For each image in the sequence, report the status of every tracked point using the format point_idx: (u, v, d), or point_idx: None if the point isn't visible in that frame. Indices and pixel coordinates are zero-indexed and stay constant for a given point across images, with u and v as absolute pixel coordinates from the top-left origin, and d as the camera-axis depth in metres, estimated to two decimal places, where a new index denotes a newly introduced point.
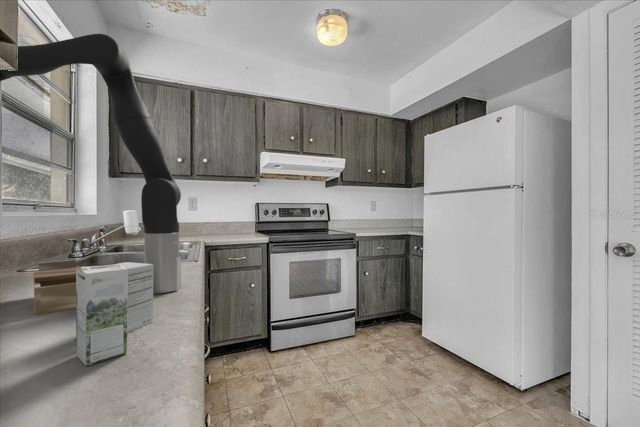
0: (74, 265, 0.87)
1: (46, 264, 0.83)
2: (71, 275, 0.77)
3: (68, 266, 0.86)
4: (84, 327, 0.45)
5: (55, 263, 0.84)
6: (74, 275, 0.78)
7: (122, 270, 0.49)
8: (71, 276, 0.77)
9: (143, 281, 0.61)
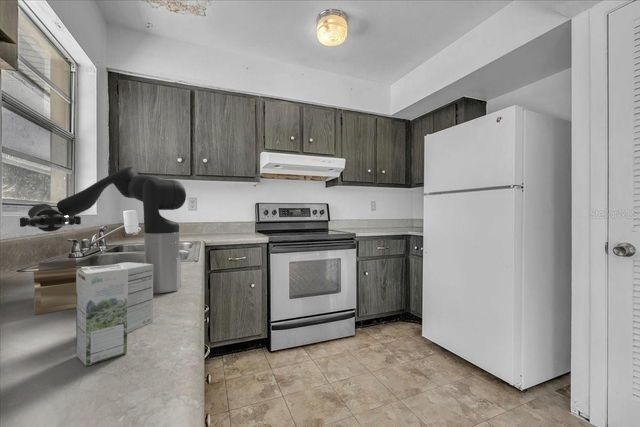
0: (74, 265, 0.87)
1: (46, 264, 0.83)
2: (71, 275, 0.77)
3: (68, 266, 0.86)
4: (84, 327, 0.45)
5: (55, 263, 0.84)
6: (74, 275, 0.78)
7: (122, 270, 0.49)
8: (71, 276, 0.77)
9: (143, 281, 0.61)
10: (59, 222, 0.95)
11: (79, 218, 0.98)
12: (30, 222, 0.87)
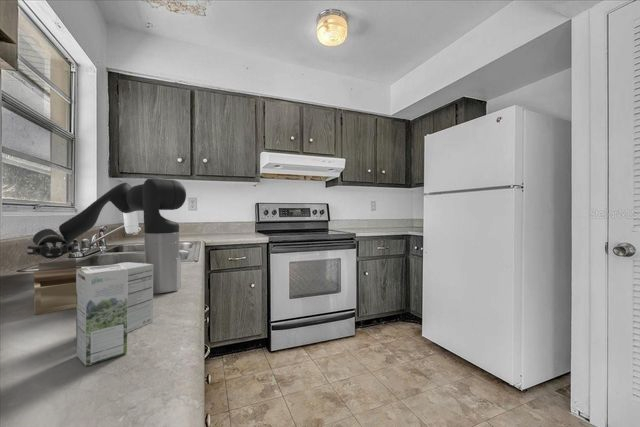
0: (74, 265, 0.87)
1: (46, 264, 0.83)
2: (71, 275, 0.77)
3: (68, 266, 0.86)
4: (84, 327, 0.45)
5: (55, 263, 0.84)
6: (74, 275, 0.78)
7: (122, 270, 0.49)
8: (71, 276, 0.77)
9: (143, 281, 0.61)
10: None
11: (66, 247, 0.95)
12: (50, 251, 0.90)
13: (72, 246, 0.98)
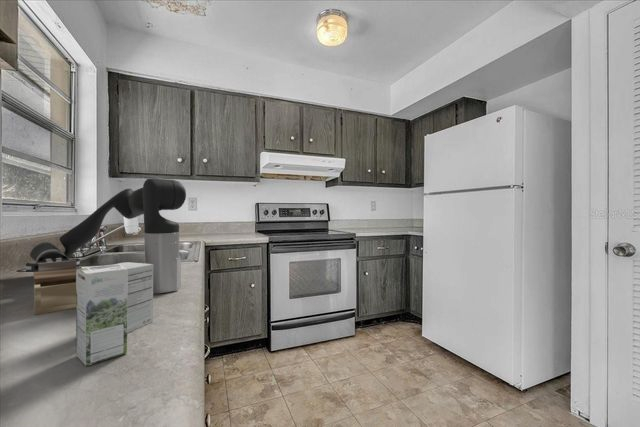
0: (74, 266, 0.86)
1: (46, 265, 0.82)
2: (71, 276, 0.76)
3: (68, 267, 0.85)
4: (84, 327, 0.45)
5: (55, 264, 0.83)
6: (75, 276, 0.77)
7: (122, 270, 0.49)
8: (71, 277, 0.76)
9: (143, 281, 0.61)
10: None
11: None
12: None
13: None
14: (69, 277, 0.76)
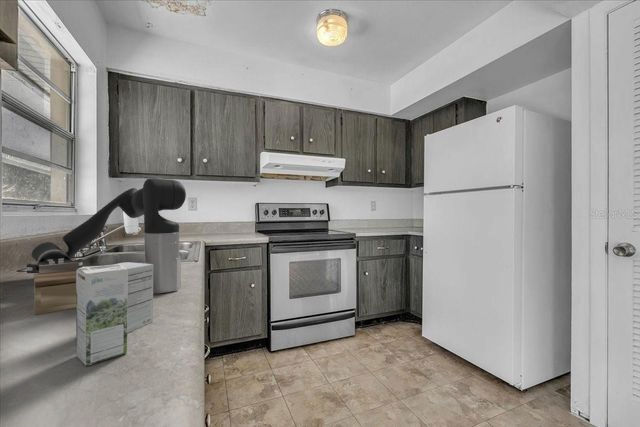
0: (76, 268, 0.83)
1: (47, 267, 0.79)
2: (74, 279, 0.73)
3: (70, 269, 0.82)
4: (84, 327, 0.45)
5: (56, 266, 0.80)
6: None
7: (122, 270, 0.49)
8: (74, 280, 0.73)
9: (143, 281, 0.61)
10: None
11: None
12: None
13: None
14: (71, 280, 0.73)
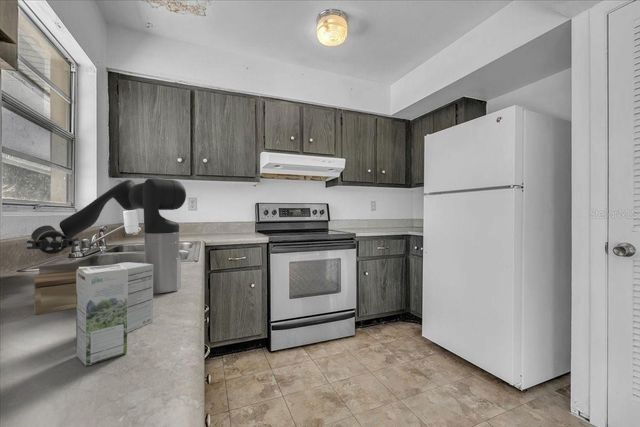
0: (77, 268, 0.82)
1: (47, 267, 0.78)
2: (74, 279, 0.73)
3: (70, 269, 0.81)
4: (84, 327, 0.45)
5: (57, 266, 0.80)
6: None
7: (122, 270, 0.49)
8: (74, 280, 0.73)
9: (143, 281, 0.61)
10: None
11: (66, 241, 0.93)
12: (51, 245, 0.88)
13: (72, 240, 0.96)
14: (71, 280, 0.72)
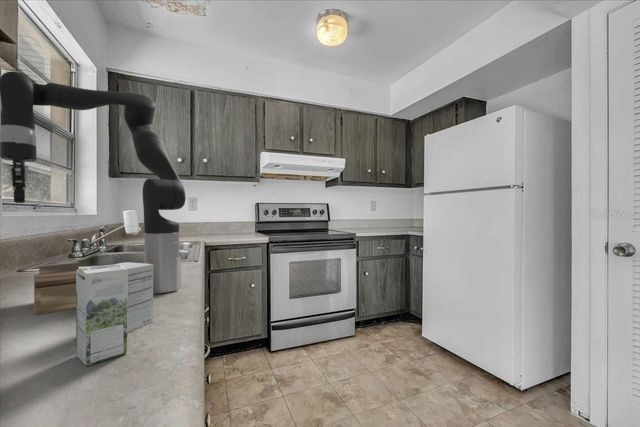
0: (77, 268, 0.82)
1: (47, 267, 0.78)
2: (74, 279, 0.73)
3: (70, 269, 0.81)
4: (84, 327, 0.45)
5: (57, 266, 0.80)
6: None
7: (122, 270, 0.49)
8: (74, 280, 0.73)
9: (143, 281, 0.61)
10: None
11: None
12: (20, 200, 0.86)
13: None
14: (71, 280, 0.72)
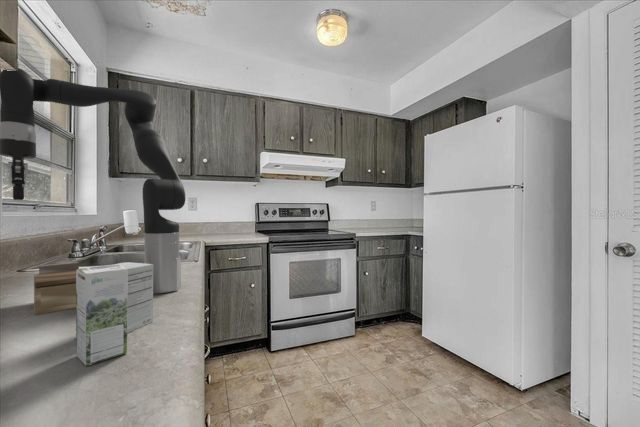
0: (77, 268, 0.82)
1: (47, 267, 0.78)
2: (74, 279, 0.73)
3: (70, 269, 0.81)
4: (84, 327, 0.45)
5: (57, 266, 0.80)
6: None
7: (122, 270, 0.49)
8: (74, 280, 0.73)
9: (143, 281, 0.61)
10: None
11: None
12: (19, 197, 0.86)
13: None
14: (71, 280, 0.72)
